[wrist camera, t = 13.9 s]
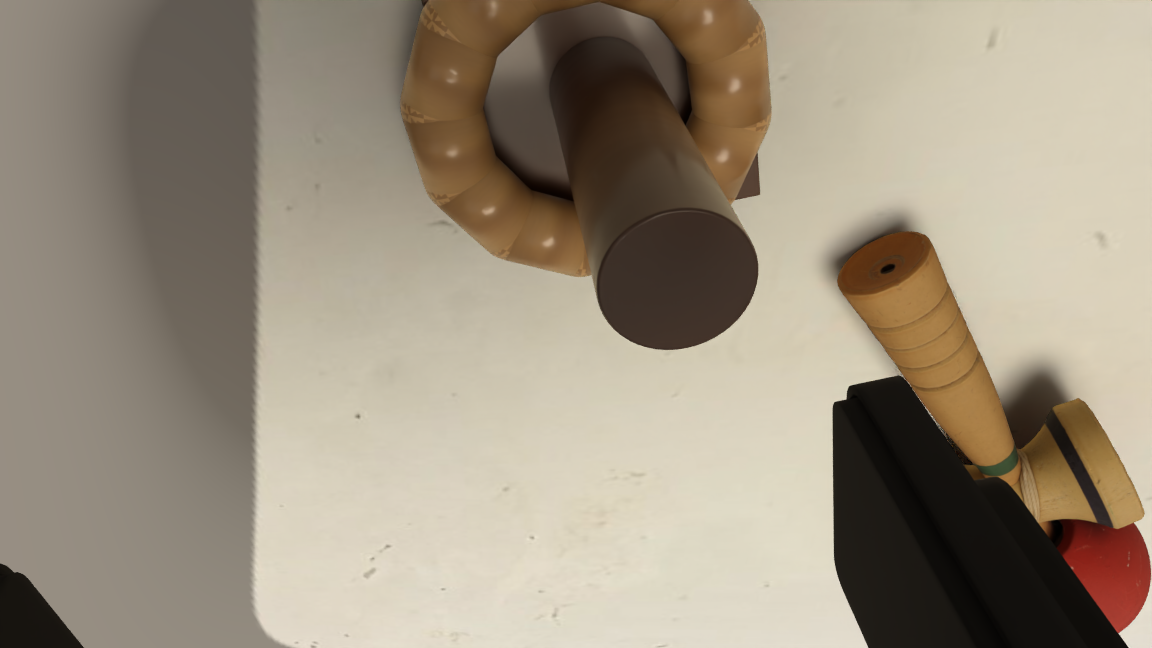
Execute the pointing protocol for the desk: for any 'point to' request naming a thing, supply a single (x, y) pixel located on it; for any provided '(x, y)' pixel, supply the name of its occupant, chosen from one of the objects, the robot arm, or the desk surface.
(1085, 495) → the kendama
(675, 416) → the desk surface
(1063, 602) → the robot arm
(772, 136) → the desk surface
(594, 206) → the brown peg stand
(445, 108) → the ring
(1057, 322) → the desk surface
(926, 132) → the desk surface
